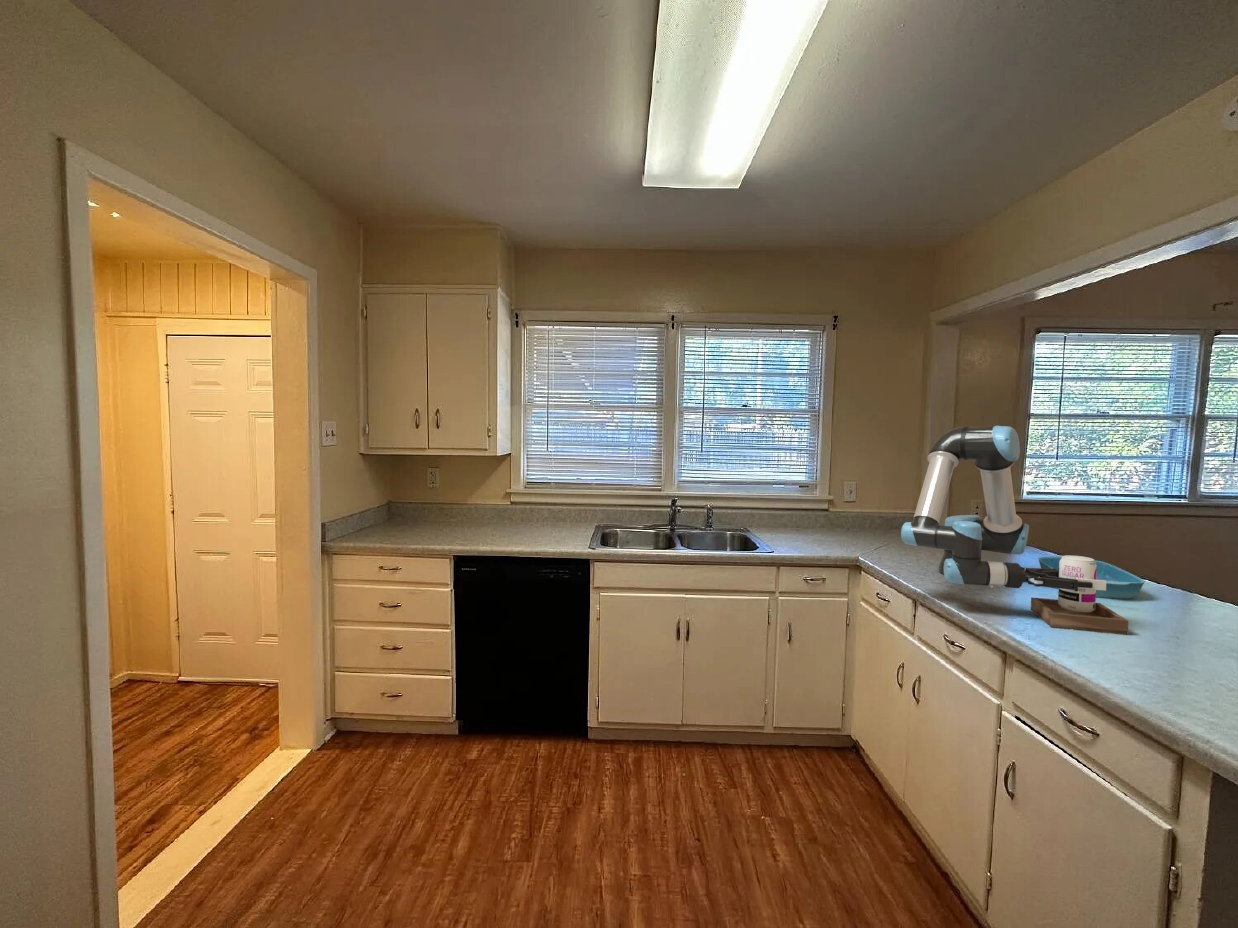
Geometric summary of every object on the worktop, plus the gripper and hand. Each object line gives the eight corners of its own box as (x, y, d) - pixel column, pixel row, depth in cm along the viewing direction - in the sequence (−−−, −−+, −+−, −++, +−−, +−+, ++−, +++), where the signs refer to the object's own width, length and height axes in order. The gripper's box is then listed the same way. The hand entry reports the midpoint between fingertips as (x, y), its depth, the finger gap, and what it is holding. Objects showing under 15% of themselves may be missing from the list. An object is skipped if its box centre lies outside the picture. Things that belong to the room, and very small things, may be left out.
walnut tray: (1030, 609, 164) (1031, 597, 163) (1099, 615, 158) (1099, 602, 157) (1051, 627, 149) (1051, 613, 149) (1127, 634, 143) (1128, 620, 142)
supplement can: (1090, 606, 154) (1092, 556, 154) (1098, 614, 147) (1100, 562, 146) (1055, 602, 158) (1056, 553, 158) (1061, 610, 151) (1063, 559, 151)
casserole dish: (1158, 606, 166) (1159, 584, 165) (1071, 599, 174) (1072, 578, 173) (1099, 576, 200) (1099, 557, 200) (1028, 571, 208) (1029, 554, 208)
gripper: (992, 577, 169) (1080, 584, 161) (1015, 596, 149) (1116, 605, 141) (993, 555, 169) (1081, 560, 160) (1015, 570, 149) (1117, 577, 141)
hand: (1097, 581), depth 151 cm, fingers closed on supplement can, 8 cm apart
